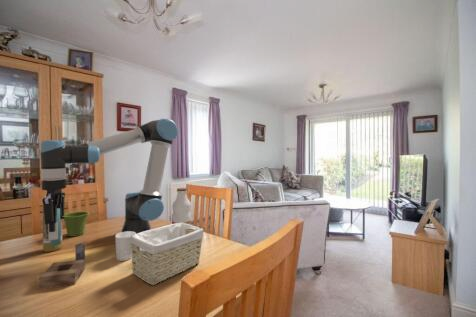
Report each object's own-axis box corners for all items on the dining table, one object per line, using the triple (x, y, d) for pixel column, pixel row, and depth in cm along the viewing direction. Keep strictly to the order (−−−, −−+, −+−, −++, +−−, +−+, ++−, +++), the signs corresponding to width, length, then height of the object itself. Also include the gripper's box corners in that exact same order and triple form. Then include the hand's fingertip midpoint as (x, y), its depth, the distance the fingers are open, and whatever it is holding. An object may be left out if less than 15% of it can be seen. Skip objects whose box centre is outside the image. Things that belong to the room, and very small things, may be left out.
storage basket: (180, 252, 101) (180, 220, 101) (204, 263, 92) (205, 228, 91) (127, 274, 82) (128, 234, 82) (151, 291, 73) (152, 246, 72)
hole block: (84, 269, 85) (84, 259, 85) (74, 284, 75) (75, 272, 75) (53, 273, 82) (53, 262, 82) (38, 289, 72) (38, 277, 72)
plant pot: (93, 233, 123) (93, 213, 123) (67, 240, 113) (67, 218, 113) (83, 229, 129) (83, 210, 129) (58, 235, 119) (58, 214, 119)
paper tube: (51, 253, 98) (51, 197, 98) (38, 251, 100) (39, 196, 99) (65, 247, 105) (66, 194, 105) (54, 245, 106) (54, 193, 106)
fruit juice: (185, 248, 105) (186, 190, 105) (167, 246, 107) (168, 189, 107) (193, 241, 115) (194, 187, 114) (176, 239, 117) (177, 186, 116)
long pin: (62, 241, 91) (61, 207, 90) (58, 244, 88) (57, 209, 87) (53, 242, 90) (52, 208, 89) (49, 246, 87) (48, 210, 86)
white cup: (114, 263, 90) (115, 238, 90) (115, 255, 97) (115, 232, 97) (135, 259, 94) (136, 235, 94) (135, 252, 101) (135, 230, 101)
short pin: (85, 259, 93) (86, 242, 93) (83, 262, 90) (83, 245, 90) (77, 260, 92) (77, 243, 92) (74, 263, 89) (74, 246, 89)
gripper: (52, 177, 94) (53, 231, 95) (30, 182, 79) (32, 247, 80) (73, 176, 97) (74, 229, 98) (56, 181, 81) (57, 244, 82)
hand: (55, 237), depth 89 cm, fingers closed on long pin, 3 cm apart
